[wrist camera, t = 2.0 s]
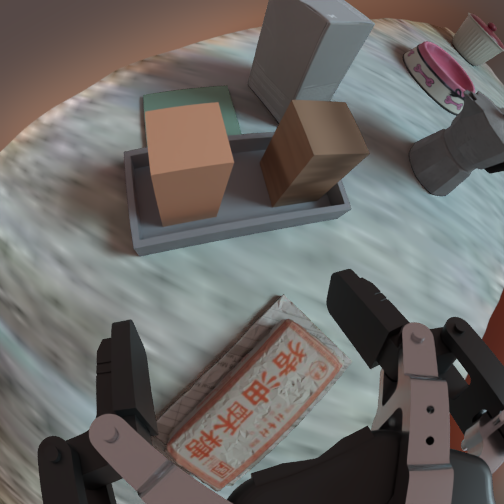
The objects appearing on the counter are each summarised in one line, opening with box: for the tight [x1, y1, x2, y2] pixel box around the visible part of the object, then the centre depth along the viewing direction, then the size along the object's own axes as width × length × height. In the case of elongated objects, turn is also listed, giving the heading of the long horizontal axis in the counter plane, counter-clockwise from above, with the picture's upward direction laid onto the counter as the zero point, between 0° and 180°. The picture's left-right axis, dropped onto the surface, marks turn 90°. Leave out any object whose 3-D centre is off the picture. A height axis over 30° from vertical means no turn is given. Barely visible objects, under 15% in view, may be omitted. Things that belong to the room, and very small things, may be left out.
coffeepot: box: [409, 90, 504, 196], centre depth 27 cm, size 15×9×18 cm, turn 72°
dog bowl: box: [403, 41, 475, 115], centre depth 42 cm, size 18×19×7 cm
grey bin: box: [124, 132, 351, 256], centre depth 26 cm, size 20×9×3 cm, turn 104°
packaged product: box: [156, 294, 352, 491], centre depth 22 cm, size 18×5×10 cm
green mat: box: [143, 86, 241, 147], centre depth 28 cm, size 10×8×1 cm
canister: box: [452, 13, 504, 66], centre depth 50 cm, size 18×18×21 cm
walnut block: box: [260, 100, 370, 208], centre depth 24 cm, size 5×5×10 cm
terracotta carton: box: [145, 102, 234, 227], centre depth 21 cm, size 5×5×10 cm
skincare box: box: [248, 0, 375, 123], centre depth 24 cm, size 8×7×16 cm
